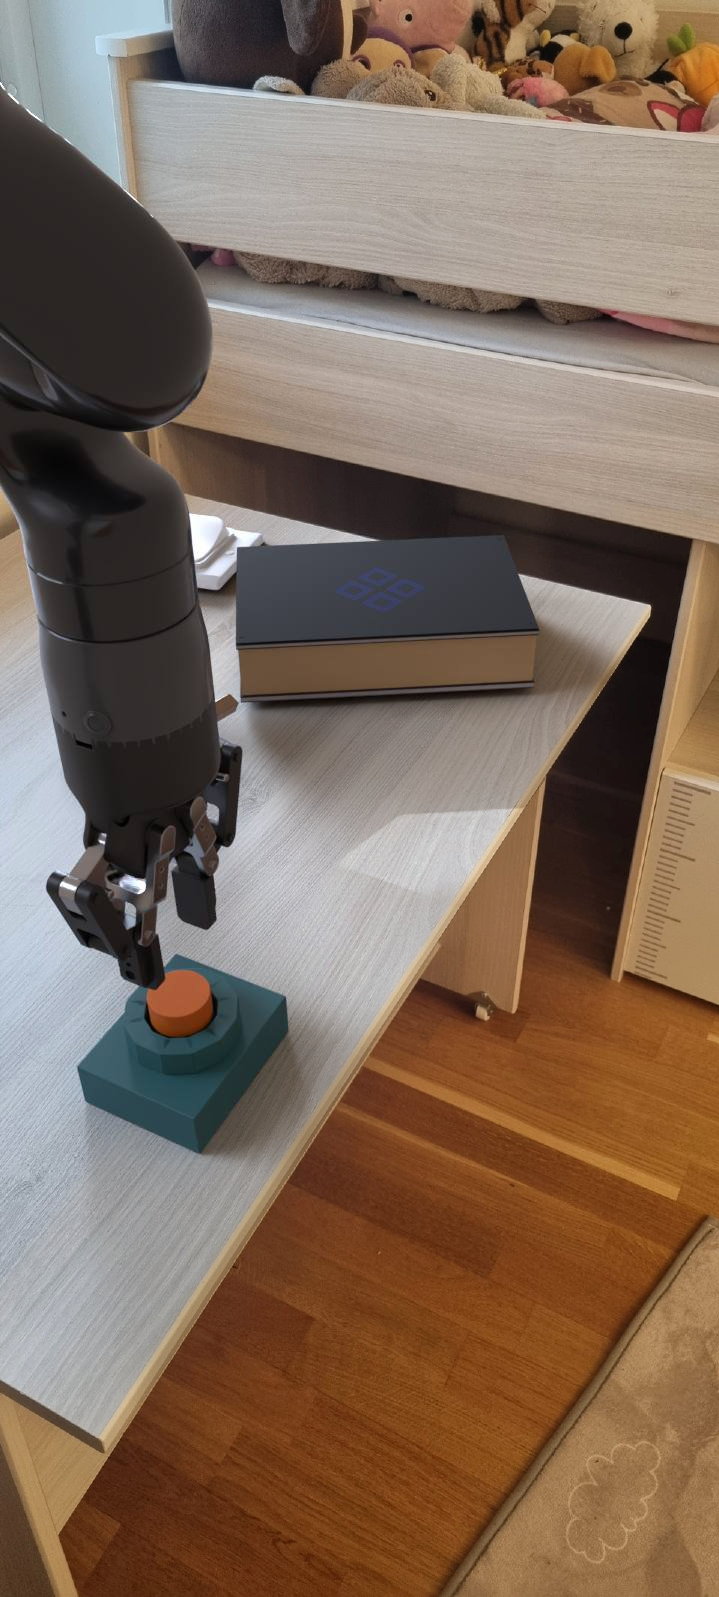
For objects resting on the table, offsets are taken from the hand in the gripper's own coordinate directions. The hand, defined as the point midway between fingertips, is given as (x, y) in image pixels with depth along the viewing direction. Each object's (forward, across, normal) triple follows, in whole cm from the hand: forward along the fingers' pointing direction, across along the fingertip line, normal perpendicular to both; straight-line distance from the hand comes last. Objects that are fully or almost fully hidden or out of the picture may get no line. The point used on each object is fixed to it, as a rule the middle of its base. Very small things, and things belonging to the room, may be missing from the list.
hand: (171, 950), depth 66 cm
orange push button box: (+10, 0, 0) cm, 10 cm away
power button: (+5, 0, 0) cm, 5 cm away
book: (+10, -48, -11) cm, 50 cm away
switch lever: (+2, -24, -18) cm, 30 cm away
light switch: (+10, -55, -36) cm, 66 cm away
